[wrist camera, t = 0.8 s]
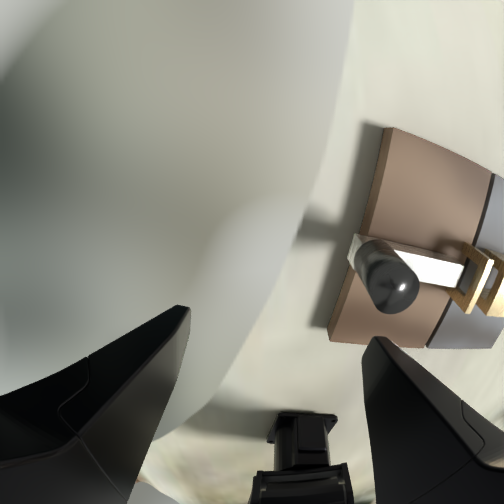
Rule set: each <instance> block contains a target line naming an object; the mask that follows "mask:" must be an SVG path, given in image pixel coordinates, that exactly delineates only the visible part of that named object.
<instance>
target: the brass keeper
mask: <svg viewBox="0 0 504 504" xmlns="http://www.w3.org/2000/svg"><path fill="white" fill-rule="evenodd" d="M461 252H462V253H463V254H464V255H466V256H467V257H468V258H469V259H471V260H472V261H473V262H474V263H476V264H477V265H478V267H477V269H476V272H475V274H474V277H473V279H472V281H471V284H470V286H469V288H468V290H467V292H466V294H465V293H464V292H463V291H462V290H461V289H460V288H459V287H458V286H457V285H456V288H454V287H448V286H447V287H446V290H445V292H446V293H447V294H448V295H449V296H450V297H451V298H452V299H453V300H454V302H455V303H456V304H457V305H458V306H459V307H460V309H461V310H462V311H463V312H464V313H465V314H470V313H471V311H472V309H473V307H474V305H475V304H476V305H477V306H478V307H479V308H480V310H481V311H482V312H483V313H484V314H485V315H486V316H494V317H504V254H501V253H498V252H495V251H492V250H489V249H486V248H485V251H484V253H483V252H481V251H480V250H479V249H477V248H476V247H475V246H473V245H472V244H470V243H468V242H464V245H463V247H462V250H461ZM492 266H493V267H494V268H496V269H497V270H498V274H497V276H496V279H495V281H494V283H493V285H492V288H491V290H490V289H485V288H483V286H484V284H485V282H486V279H487V277H488V275H489V272H490V270H491V267H492Z"/></svg>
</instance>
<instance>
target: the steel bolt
mask: <svg viewBox="0 0 504 504" xmlns="http://www.w3.org/2000/svg"><path fill="white" fill-rule="evenodd" d="M347 259H348V260H349V262H350V264H351V266H352V268H353V269H354V270H356V272H357V274H358V276H359V277H360V279H361V281H362V283H363V285H364V287H365V288H366V290H367V292H368V294H369V296H370V298H371V300H372V301H373V303H374V305H375V307H376V308H377V310H379V311H380V312H382V313H384V314H397V313H400V312H402V311H404V310H405V309H407V308H408V307H409V306H410V305H411V304H412V303H413V302H414V301H415V299H416V297H417V295H418V293H419V288H420V283H419V281H420V282H426V283H432V284H437V285H443V286H448V287H454V288H456V285H457V283H458V281H459V279H460V276H461V274H462V271H463V269H464V265H462V264H461V263H460V262H459V261H458V260H457V259H455V258H454V257H453V256H449V255H445V254H441V253H437V252H433V251H429V250H425V249H421V248H417V247H413V246H409V245H404V244H400V243H396V242H392V241H387V240H383V239H378V238H374V237H369V236H365V235H360V234H356V233H354V236H353V240H352V243H351V246H350V250H349V253H348V256H347Z"/></svg>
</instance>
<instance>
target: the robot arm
mask: <svg viewBox="0 0 504 504" xmlns="http://www.w3.org/2000/svg"><path fill="white" fill-rule="evenodd" d="M190 320H191V309H190V308H189V307H185V306H181V305H175V306H173V307H172V308H170V309H168V310H167V311H165V312H163V313H161V314H160V315H158V316H156V317H155V318H153V319H151V320H149V321H148V322H146V323H144V324H142V325H141V326H139V327H137V328H135V329H134V330H132V331H130V332H129V333H127V334H125V335H123V336H122V337H120V338H118V339H116V340H115V341H113V342H111V343H109V344H108V345H106V346H104V347H103V348H101V349H99V350H97V351H95V352H94V353H92V354H90V355H89V356H88V357H85V358H83V359H81V360H79V361H78V362H76V363H74V364H72V365H70V366H68V367H67V368H65V369H63V370H61V371H59V372H57V373H55V374H52V375H50V376H48V377H46V378H44V379H41V380H39V381H37V382H34V383H32V384H29V385H27V386H24V387H22V388H20V389H17V390H15V391H12V392H10V393H8V394H4V395H2V396H0V504H127V501H128V499H129V497H130V494H131V492H132V489H133V487H134V484H135V481H136V479H137V476H138V474H139V471H140V469H141V466H142V464H143V461H144V459H145V456H146V454H147V451H148V449H149V447H150V444H151V442H152V439H153V437H154V434H155V432H156V429H157V427H158V425H159V422H160V420H161V417H162V415H163V412H164V410H165V408H166V405H167V403H168V400H169V398H170V395H171V393H172V391H173V389H174V386H175V383H176V381H177V378H178V374H179V370H180V367H181V363H182V360H183V356H184V353H185V349H186V346H187V342H188V338H189V334H190ZM362 375H363V391H364V404H365V411H366V418H367V424H368V431H369V438H370V445H371V453H372V462H373V471H374V481H375V493H376V504H504V432H503V431H502V430H500V429H499V428H498V427H496V426H495V425H493V424H492V423H491V422H489V421H488V420H487V419H485V418H484V417H483V416H481V415H480V414H479V413H478V412H476V411H475V410H474V409H473V408H472V407H470V406H469V405H468V404H467V403H466V402H464V401H463V400H461V398H460V397H458V396H457V395H456V394H455V393H454V392H452V391H451V390H450V389H449V388H448V387H447V386H445V385H444V384H443V383H442V382H441V381H439V380H438V379H437V378H436V377H435V376H433V375H432V374H431V373H430V372H428V371H427V370H426V369H425V368H424V367H422V366H421V365H420V364H419V363H418V362H416V361H415V360H414V359H413V358H411V357H410V356H409V355H408V354H407V353H405V352H404V351H403V350H402V349H400V348H399V347H398V346H397V345H396V344H394V343H393V342H392V341H391V340H389V339H388V338H387V337H385V336H373V337H372V338H371V340H370V342H369V344H368V346H367V348H366V350H365V352H364V354H363V356H362ZM337 421H338V418H337V416H332V415H309V414H295V413H279V414H278V415H277V417H276V419H275V422H274V424H273V426H272V428H271V430H270V433H269V435H268V437H267V443H270V444H275V445H274V471H257V476H254V477H253V487H252V492H251V495H250V498H249V501H248V504H354V496H353V490H352V485H351V480H350V476H349V471H348V467H347V463H341V464H339V465H332V466H331V461H330V452H329V443H328V434H329V432H330V431H331V429H332V428H333V427H334V425H335V424H336V423H337Z"/></svg>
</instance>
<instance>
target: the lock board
mask: <svg viewBox="0 0 504 504" xmlns="http://www.w3.org/2000/svg"><path fill="white" fill-rule="evenodd" d="M359 234H360V235H365V236H369V237H374V238H378V239H383V240H387V241H392V242H396V243H400V244H404V245H409V246H413V247H417V248H421V249H425V250H429V251H433V252H437V253H441V254H445V255H449V256H453V257H454V258H455V259H457V260H458V261H459V262H460V263H461V264H462V265H464V269H463V271H462V274H461V276H460V279H459V281H458V283H457V286H458V287H459V288H460V289H461V290H462V291H463V292H464V293H465V294H466V292H467V290H468V288H469V286H470V284H471V281H472V279H473V277H474V274H475V272H476V269H477V267H478V265H477V264H476V263H474V262H473V261H472V260H471V259H469V258H468V257H467V256H466V255H464V254H463V253H462V252H461V250H462V247H463V245H464V242H468V243H470V244H472V245H473V246H475V247H476V248H477V249H479V250H480V251H481V252H483V253H484V251H485V248H486V249H489V250H492V251H495V252H498V253H501V254H504V179H503V178H501V177H500V176H498V175H496V174H493V173H492V172H491V171H489V170H487V169H486V168H484V167H482V166H480V165H478V164H476V163H474V162H472V161H470V160H468V159H467V158H465V157H462V156H460V155H458V154H456V153H454V152H452V151H450V150H448V149H446V148H443V147H441V146H439V145H437V144H434V143H432V142H430V141H427V140H425V139H422V138H420V137H417V136H415V135H412V134H410V133H407V132H405V131H402V130H399V129H396V128H394V127H393V128H384V131H383V137H382V142H381V147H380V152H379V156H378V161H377V166H376V170H375V174H374V179H373V183H372V187H371V191H370V195H369V199H368V203H367V207H366V210H365V214H364V218H363V221H362V225H361V229H360V232H359ZM497 274H498V270H497V269H496V268H494V267H493V266H492V267H491V270H490V272H489V275H488V277H487V279H486V282H485V284H484V286H483V288H485V289H490V290H491V288H492V285H493V283H494V281H495V279H496V276H497ZM419 283H420V288H419V293H418V295H417V297H416V299H415V301H414V302H413V303H412V304H411V305H410V306H409V307H408V308H407V309H405V310H404V311H402V312H400V313H397V314H384V313H382V312H380V311H379V310H377V308H376V307H375V305H374V303H373V301H372V300H371V298H370V296H369V294H368V292H367V290H366V288H365V287H364V285H363V283H362V281H361V279H360V277H359V276H358V274H357V272H356V270H354V269H353V268H352V266H351V264H350V265H349V268H348V271H347V274H346V277H345V280H344V283H343V286H342V289H341V292H340V295H339V297H338V300H337V303H336V306H335V309H334V311H333V314H332V317H331V319H330V322H329V325H328V327H327V332H328V336H329V340H330V341H331V342H341V343H351V344H362V345H368V344H369V342H370V340H371V338H372V337H373V336H385V337H387V338H388V339H389V340H391V341H392V342H393V343H394V344H396V345H397V346H398V347H406V348H424V346H425V345H426V347H427V348H431V349H488V348H492V346H493V345H494V343H495V341H496V340H497V338H498V336H499V335H500V333H501V331H502V329H503V328H504V317H494V316H486V315H485V314H484V313H483V312H482V311H481V310H480V308H479V307H478V306H477V305H476V304H475V305H474V307H473V309H472V311H471V313H470V314H465V313H464V312H463V311H462V310H461V309H460V307H459V306H458V305H457V304H456V303H455V302H454V300H453V299H452V298H451V297H450V296H449V295H448V294H447V293H446V292H445V290H446V287H447V286H443V285H437V284H432V283H426V282H420V281H419Z"/></svg>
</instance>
